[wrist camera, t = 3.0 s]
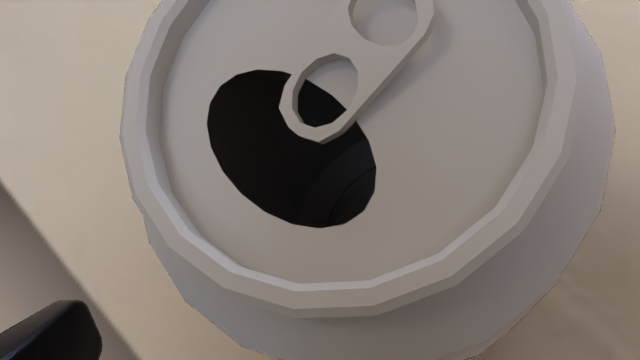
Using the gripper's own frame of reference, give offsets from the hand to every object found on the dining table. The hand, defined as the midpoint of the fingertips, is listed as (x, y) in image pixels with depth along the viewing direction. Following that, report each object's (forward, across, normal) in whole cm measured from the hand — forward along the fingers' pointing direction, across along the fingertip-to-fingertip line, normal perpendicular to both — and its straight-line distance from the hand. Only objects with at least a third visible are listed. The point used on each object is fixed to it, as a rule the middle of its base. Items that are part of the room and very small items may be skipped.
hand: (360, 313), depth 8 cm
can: (+9, 0, +5) cm, 11 cm away
